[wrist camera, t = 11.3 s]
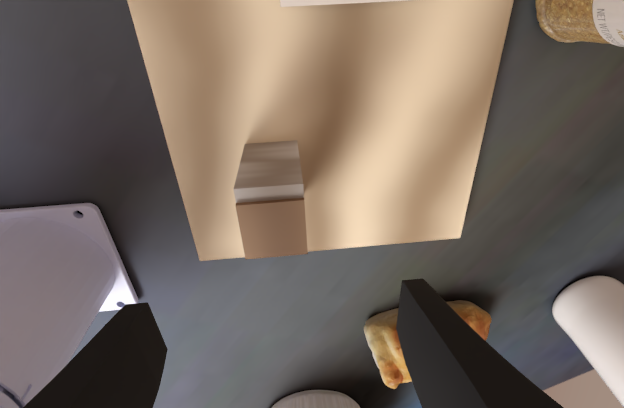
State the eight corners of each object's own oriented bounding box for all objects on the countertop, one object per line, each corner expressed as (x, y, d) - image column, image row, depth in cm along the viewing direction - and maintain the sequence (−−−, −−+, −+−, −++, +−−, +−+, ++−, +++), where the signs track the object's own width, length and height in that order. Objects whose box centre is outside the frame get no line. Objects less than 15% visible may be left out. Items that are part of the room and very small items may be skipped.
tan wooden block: (253, 199, 18) (245, 259, 14) (244, 144, 17) (232, 191, 12) (301, 196, 18) (307, 253, 14) (297, 140, 17) (303, 186, 12)
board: (203, 248, 21) (199, 261, 20) (74, -241, 11) (53, -267, 10) (451, 227, 22) (460, 238, 21) (548, -247, 12) (575, -272, 11)
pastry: (475, 276, 25) (505, 317, 21) (484, 330, 28) (511, 373, 25) (355, 315, 26) (366, 361, 22) (377, 363, 29) (390, 408, 26)
